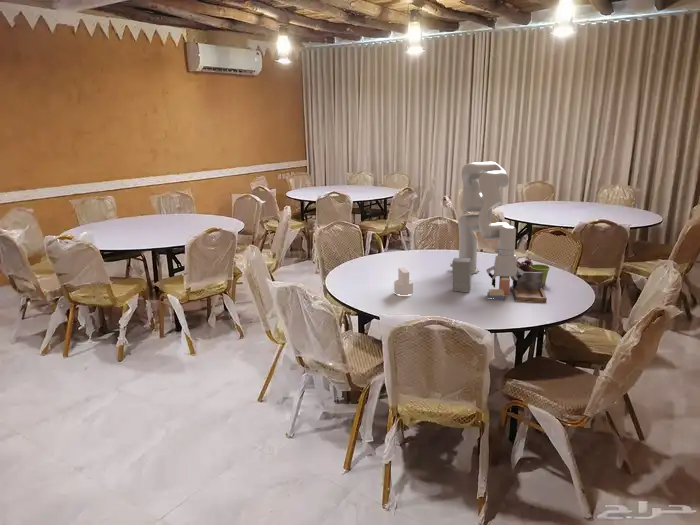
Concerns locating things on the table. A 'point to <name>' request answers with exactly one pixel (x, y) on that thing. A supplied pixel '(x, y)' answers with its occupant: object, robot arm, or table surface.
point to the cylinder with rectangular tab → (403, 283)
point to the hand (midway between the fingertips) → (504, 287)
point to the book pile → (495, 293)
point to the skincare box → (461, 274)
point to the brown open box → (529, 287)
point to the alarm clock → (525, 265)
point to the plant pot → (541, 270)
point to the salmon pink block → (504, 284)
